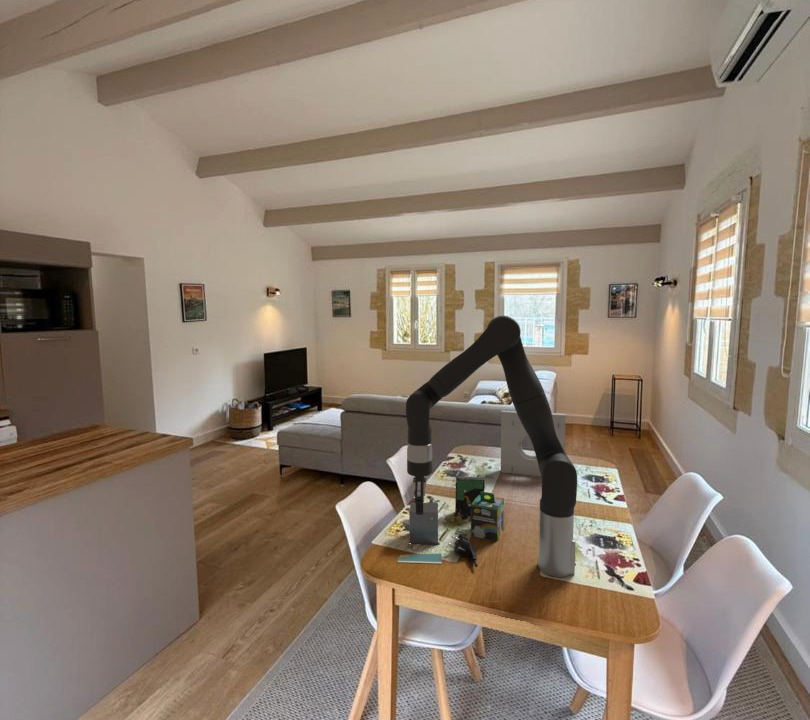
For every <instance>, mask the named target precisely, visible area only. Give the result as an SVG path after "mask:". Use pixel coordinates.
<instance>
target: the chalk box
mask: <svg viewBox="0 0 810 720" xmlns="http://www.w3.org/2000/svg"><path fill="white" fill-rule="evenodd" d="M504 531H505V499H504V498H503V497H498V496H495V494H494V493H491V492H488V491H487V492H486V491H484V492H480V495H478V496H477V497H476V499H475V500H474V502H473V503H472V504H471V516H470V536H472V537H475V538H479V539H484V540H489V541H493V542H499V540H500V539H501V536H502V534H503V533H504Z"/></svg>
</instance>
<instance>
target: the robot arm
mask: <svg viewBox="0 0 810 720" xmlns="http://www.w3.org/2000/svg"><path fill="white" fill-rule="evenodd" d="M521 337H522V336H521V327H520V324H519V323H518V321H516V320H515V319H514V318H513V317H511V316H508V315H498V316H495V317H494V318H492V319H491V320H490V322H488V325H487V328H486V329H485V330H483V332H482V334H481V335H480V336H478V338H477V339H476V340H475V341H474V342H473V343H472V344H471V345H470V346H468V347H467V348H466V349H465V350H464V351H462V352H461V353H459V354H458V355H457V356H455V357H454V358H453V359H451V360H450V361H449V362H448V363H446V364H445V365H444V366H443V367H442V368H440V369H439V370H438V371H437V372H436V373H435V374H433V375H432V377H431V378H430V379H429V380H428V381H427V382H425V383H424V384H422V385H421V386H420V387H419V388H417V389H416V390H414V391H413V392H412V393H411V394H410V395H409V396H408V397H407V399H406V402H405V415H406V423H407V447H406V473H407V474H408V475H410V476H412V477H413V478H412V487H413V496H414V503H416V514H417V515H422V514H423V503H425V496H426V487H427V477H428V476H430V475H432V473H433V446H432V426H431V425H430V410H431V409H433V407H434V406H436V404H437V403H439V402H440V401H441V400H442V399H443V398H445V397H447V396H448V395H449V394H451V393H452V392H453V391H455V390H456V389H457V388H458V387H460V386H461V385H462V384H463V383H464V382H465V381H466V380H467V379H468V378H470V377H471V375H473V374H474V373H475V372H476V371H477V370H478V369H479V368H481V367H482V366H483V365H485V364H486V363H487V362H489V361H490V360H492V359H493V358H494V357H496V356H497V358H498V359H499V361H500V364H501V366H502V370H503V372H504V373H503V374H504V377H505V381H506V386H507V389H508V393H509V395H510V400H511V402H512V404H513V407H514V409H515V411H516V412H517V415H518V417H519V419H520V421H521V423H522V425H523V427H524V429H525V430H526V432H527V434H528V437H529V439H530V441H531V445H532V447H533V450H534V453H535V454H534V455H536V458H537V462H538V466H539V470H540V474H541V476H540V477H541V497H540V499H539V521H538V522H539V524H538V527H539V528H538V529H539V531H538V557H537V558H538V560H537V561H538V564H537V565H538V568H539V570H541V572H543V574H546V575H548V576H552V577H556V578H565V577H569V576H570V575H575V572H576V571H575V570H576V566H575V565H576V564H575V563H576V541H575V539H574V520H575V507H576V505H577V491H578V473H577V469H576V467H575V465H574V464H573V462H572V461H571V460H570V457H568V455H567V453H566V451H564V450H563V448H562V446H561V444H560V441H559V439H558V437H557V435H556V432H555V428H554V423H553V417H552V409H551V406H550V402H549V400H548V398H547V396H546V392H545V389H544V388H543V385H542V383H541V381H540V379H539V376H538V375H537V373H536V372H535V369H534V368H533V365H531V362H530V361H529V359H528V356H527V354H526V351H525V347H524V344H523V342H522V338H521Z"/></svg>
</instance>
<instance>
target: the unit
mask: <svg viewBox="0 0 810 720" xmlns="http://www.w3.org/2000/svg"><path fill="white" fill-rule="evenodd" d="M408 515H409V518H408V522H409V523H408V527H409V528H408V529H409V543H411V544H410V545H412V544H414V545H415V544H419V545H420V546H440V545H441V542H440V541H439V503H438V502H424V503H423V514H422V515H417V514H416V503H415V502H410V505H409V513H408ZM414 545H413V546H414ZM415 546H416V545H415Z"/></svg>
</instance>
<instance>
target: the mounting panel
mask: <svg viewBox="0 0 810 720" xmlns="http://www.w3.org/2000/svg"><path fill="white" fill-rule="evenodd" d="M551 413H552V412H551ZM552 417H553V423H554V428H555V432H556V435H557V437H558V439H559V441H560V444H561V446H562V448H563V450H564V451H565V450H566V449H565V443H566V413H557V412H556V413H552ZM500 418H501V419H500V421H501V422H500V425H501V426H500V473H506V474H513V475H514V474H515V475H516V474H517V475H525V476H533V477H542V476H541V474H540V470H539V466H538V462H537V458H536V454H534V455H531V454H528V453H526V452H525V451H524V449H523V447H522V443H523V440H525V439H526V438H528V437H529V436H528V434H527V432H526V430H525V429H524V427H523V425H522V423H521V421H520V419H519V417H518V415H517V412H516V410H515V411H513V410H501V414H500ZM565 452H566V451H565Z"/></svg>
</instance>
